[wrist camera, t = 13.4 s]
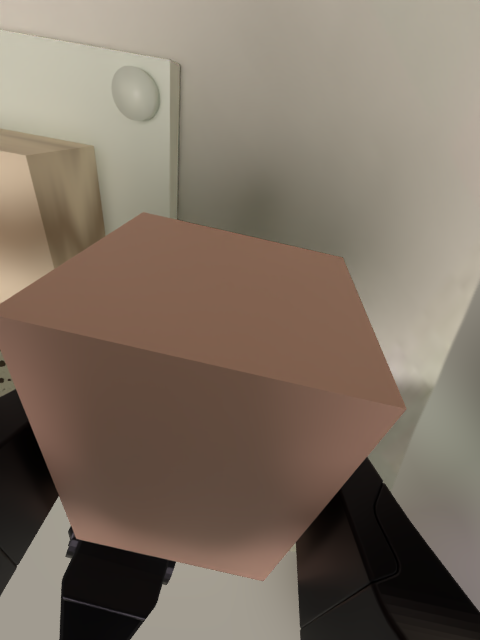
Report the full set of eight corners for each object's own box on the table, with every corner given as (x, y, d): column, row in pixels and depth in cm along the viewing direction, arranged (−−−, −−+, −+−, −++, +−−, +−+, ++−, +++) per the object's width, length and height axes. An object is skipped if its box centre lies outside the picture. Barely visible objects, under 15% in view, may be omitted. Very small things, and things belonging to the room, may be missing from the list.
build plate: (175, 322, 24) (165, 339, 22) (9, 289, 24) (-14, 304, 22) (179, 64, 14) (164, 56, 12) (-91, 16, 15) (-146, 1, 13)
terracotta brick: (270, 429, 12) (262, 581, 8) (145, 401, 12) (76, 538, 8) (343, 257, 8) (406, 409, 4) (143, 211, 8) (-15, 312, 4)
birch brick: (111, 277, 20) (66, 318, 16) (34, 262, 20) (-29, 298, 16) (93, 145, 16) (25, 155, 11) (-5, 127, 16) (-107, 130, 12)
